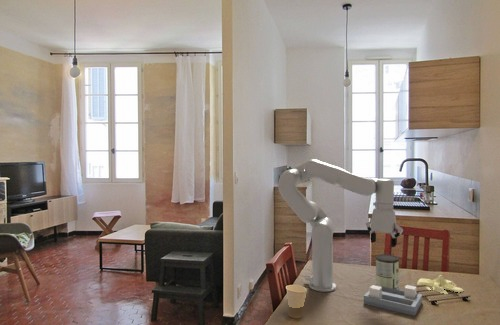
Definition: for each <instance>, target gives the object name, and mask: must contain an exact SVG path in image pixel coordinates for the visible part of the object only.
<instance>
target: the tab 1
mask: <svg viewBox="0 0 500 325" xmlns="http://www.w3.org/2000/svg"><path fill="white" fill-rule="evenodd" d="M375 285H376V284H371V286H370V287H369V289H368V291H369V296H370V297H375V298H379V299H382V287H380V286H375Z"/></svg>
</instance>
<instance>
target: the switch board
mask: <svg viewBox="0 0 500 325" xmlns="http://www.w3.org/2000/svg"><path fill="white" fill-rule="evenodd" d="M374 285H375V286H378V285H376V284H374ZM380 287H382V299H379V298H375V297H370V296H369V290H368V291H366V293H365V294H364V295H363V304H364V305H368V306H372V307H374V308H375V307H376V308H381V309H384V310H389V311H393V312H397V313H402V314H406V315H410V316H413V317H415V316H416V315H417V313H418V311H419V309H420V307H421V306H422V304H423V294H421V293H418V292H416V298H411V297H406V296H404V290H402V289H393V288H388V287H383V286H380Z"/></svg>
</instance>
